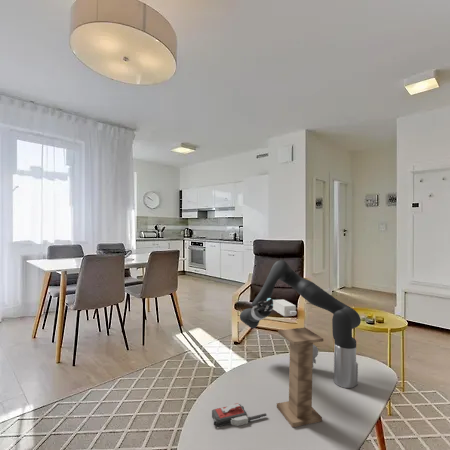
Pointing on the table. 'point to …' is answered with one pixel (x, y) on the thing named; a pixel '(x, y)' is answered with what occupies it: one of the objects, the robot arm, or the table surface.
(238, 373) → the table surface
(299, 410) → the stand
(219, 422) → the walkie-talkie
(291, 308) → the white block with ball
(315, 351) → the figurine
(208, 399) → the table surface
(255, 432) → the table surface
